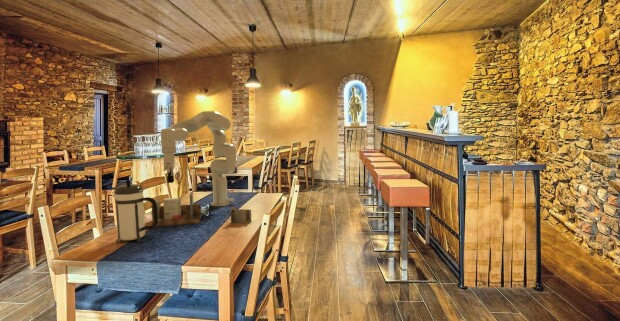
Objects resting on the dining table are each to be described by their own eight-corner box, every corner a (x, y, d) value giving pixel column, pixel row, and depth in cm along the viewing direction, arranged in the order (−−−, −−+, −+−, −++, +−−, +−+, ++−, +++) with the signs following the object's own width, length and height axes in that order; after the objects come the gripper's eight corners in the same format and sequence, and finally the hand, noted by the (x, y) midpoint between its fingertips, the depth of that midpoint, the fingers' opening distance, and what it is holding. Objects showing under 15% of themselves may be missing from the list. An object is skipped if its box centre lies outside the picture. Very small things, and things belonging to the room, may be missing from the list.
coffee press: (123, 247, 165) (118, 184, 161) (110, 240, 175) (105, 180, 172) (159, 238, 178) (156, 179, 174) (145, 231, 188) (142, 175, 185)
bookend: (200, 214, 216) (199, 191, 214) (200, 218, 207) (199, 194, 205) (191, 214, 214) (190, 192, 213) (190, 218, 206) (189, 195, 204)
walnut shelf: (201, 215, 219) (200, 196, 218) (199, 222, 204) (198, 202, 202) (157, 218, 213) (156, 199, 212) (152, 226, 198) (151, 205, 196)
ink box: (181, 217, 210) (180, 197, 209) (178, 219, 205) (177, 199, 204) (167, 217, 210) (166, 197, 209) (163, 219, 205) (162, 199, 204)
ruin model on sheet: (230, 223, 204) (230, 206, 203) (232, 222, 207) (231, 205, 206) (249, 224, 202) (249, 207, 201) (251, 222, 205) (251, 206, 204)
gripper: (164, 149, 210) (165, 180, 212) (159, 151, 194) (161, 185, 197) (177, 149, 212) (179, 179, 214) (174, 151, 196) (175, 184, 198)
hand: (170, 182), depth 205 cm, fingers closed
